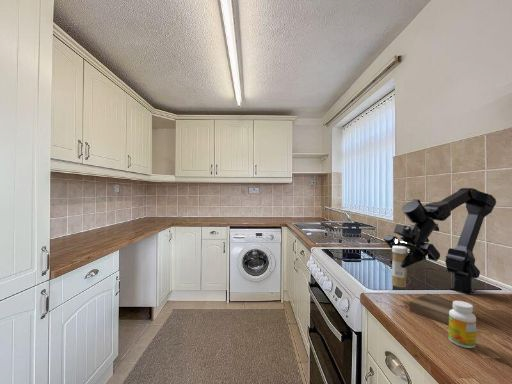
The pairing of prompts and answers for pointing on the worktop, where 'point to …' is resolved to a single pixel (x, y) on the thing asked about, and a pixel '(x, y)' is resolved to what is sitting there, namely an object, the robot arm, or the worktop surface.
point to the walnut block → (432, 307)
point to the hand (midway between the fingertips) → (396, 265)
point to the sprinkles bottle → (398, 266)
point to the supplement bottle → (462, 325)
